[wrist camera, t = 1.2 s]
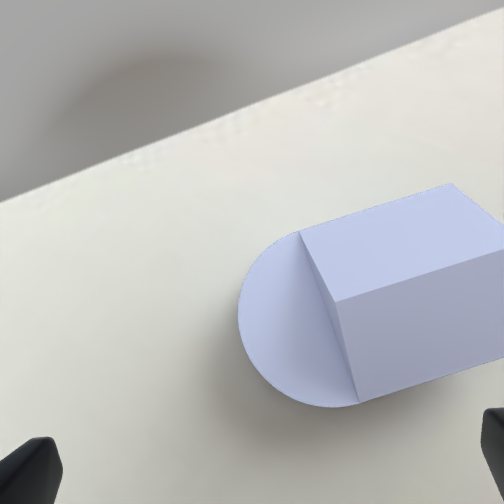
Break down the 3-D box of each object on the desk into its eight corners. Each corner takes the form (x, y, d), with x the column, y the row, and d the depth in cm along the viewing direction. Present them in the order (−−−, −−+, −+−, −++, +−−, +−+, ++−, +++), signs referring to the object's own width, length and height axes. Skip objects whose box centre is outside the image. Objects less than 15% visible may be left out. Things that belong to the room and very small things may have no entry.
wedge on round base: (430, 205, 26) (225, 270, 26) (478, 152, 19) (206, 237, 19) (496, 351, 23) (270, 423, 23) (577, 345, 17) (265, 444, 17)
